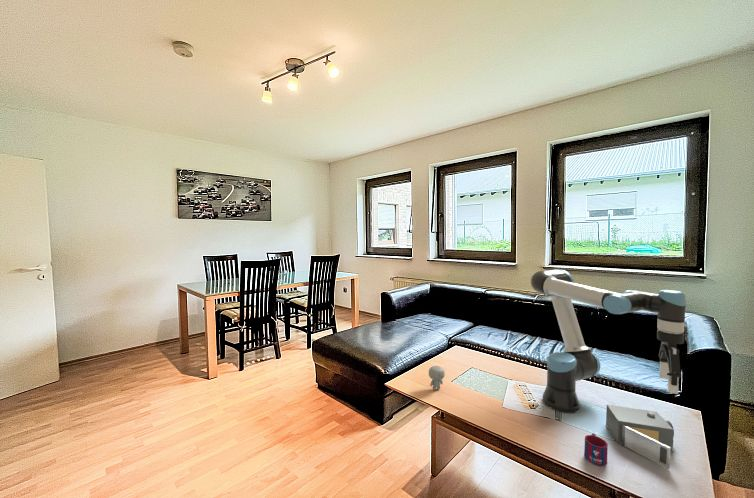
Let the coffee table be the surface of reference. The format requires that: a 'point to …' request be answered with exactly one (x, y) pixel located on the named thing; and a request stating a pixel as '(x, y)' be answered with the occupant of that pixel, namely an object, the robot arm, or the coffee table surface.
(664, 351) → the robot arm
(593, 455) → the mug
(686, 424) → the coffee table surface
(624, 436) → the side door
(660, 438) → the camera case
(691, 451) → the coffee table surface
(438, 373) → the figurine
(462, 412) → the coffee table surface
